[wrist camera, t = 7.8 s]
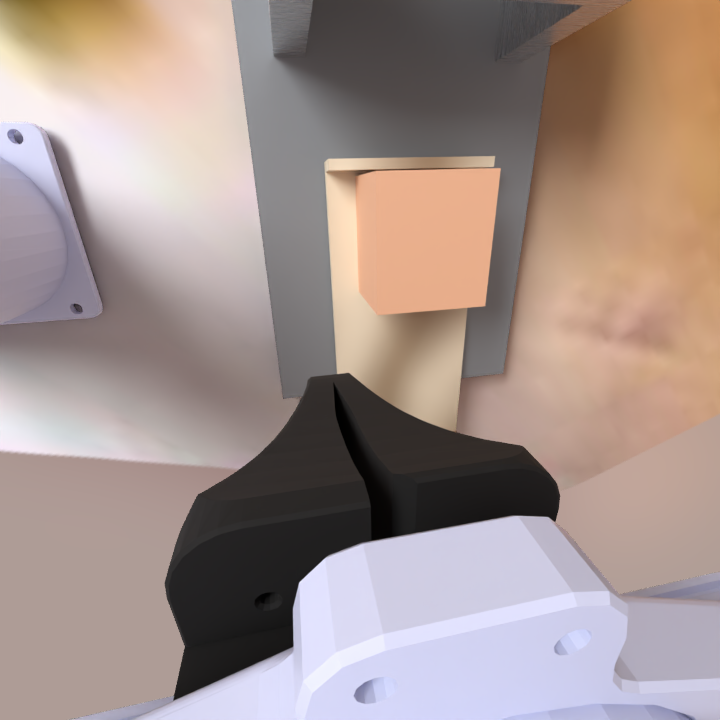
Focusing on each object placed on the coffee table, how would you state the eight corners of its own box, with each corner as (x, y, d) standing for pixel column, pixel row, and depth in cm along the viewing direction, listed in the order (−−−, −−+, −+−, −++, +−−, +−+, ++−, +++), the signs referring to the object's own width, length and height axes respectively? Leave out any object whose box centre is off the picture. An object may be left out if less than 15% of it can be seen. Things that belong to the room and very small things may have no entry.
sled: (341, 456, 22) (354, 513, 18) (324, 162, 16) (337, 150, 12) (451, 440, 23) (486, 491, 19) (476, 159, 17) (535, 148, 13)
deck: (283, 385, 22) (283, 398, 20) (183, -390, 11) (169, -478, 10) (489, 362, 24) (503, 373, 22) (575, -310, 13) (611, -373, 12)
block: (358, 291, 18) (377, 315, 14) (355, 176, 16) (375, 170, 12) (446, 285, 19) (485, 306, 15) (454, 174, 17) (500, 168, 13)
